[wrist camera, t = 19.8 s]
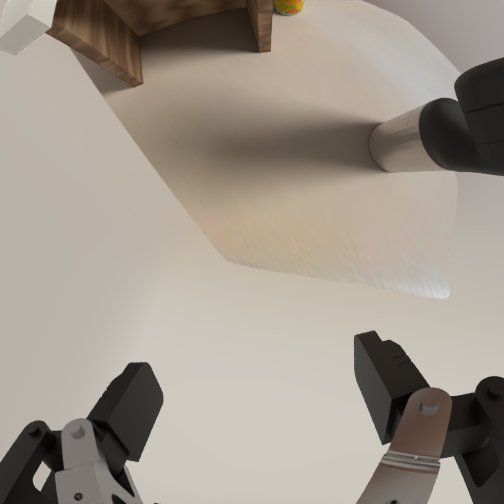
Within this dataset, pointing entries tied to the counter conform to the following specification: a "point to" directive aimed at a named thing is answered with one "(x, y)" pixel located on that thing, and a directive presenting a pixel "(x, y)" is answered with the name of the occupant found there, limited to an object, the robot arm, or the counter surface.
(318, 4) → the counter surface
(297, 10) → the supplement bottle
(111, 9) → the walnut shelf
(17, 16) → the plug
